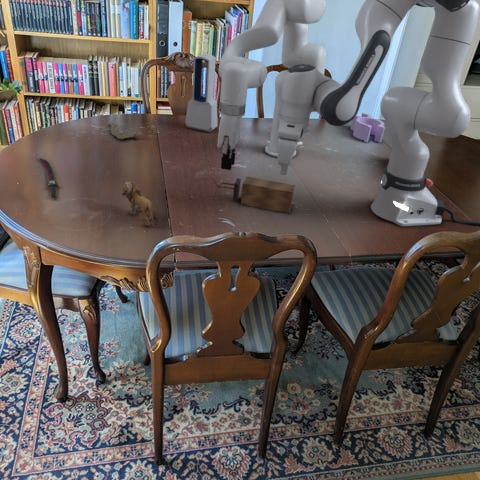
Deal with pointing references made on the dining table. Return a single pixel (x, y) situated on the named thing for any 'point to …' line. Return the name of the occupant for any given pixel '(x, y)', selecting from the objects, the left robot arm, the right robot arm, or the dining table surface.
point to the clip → (367, 127)
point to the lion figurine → (137, 201)
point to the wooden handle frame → (235, 188)
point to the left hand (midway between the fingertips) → (227, 166)
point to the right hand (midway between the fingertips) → (285, 168)
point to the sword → (52, 181)
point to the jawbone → (122, 135)
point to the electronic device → (200, 107)
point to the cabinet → (267, 194)
